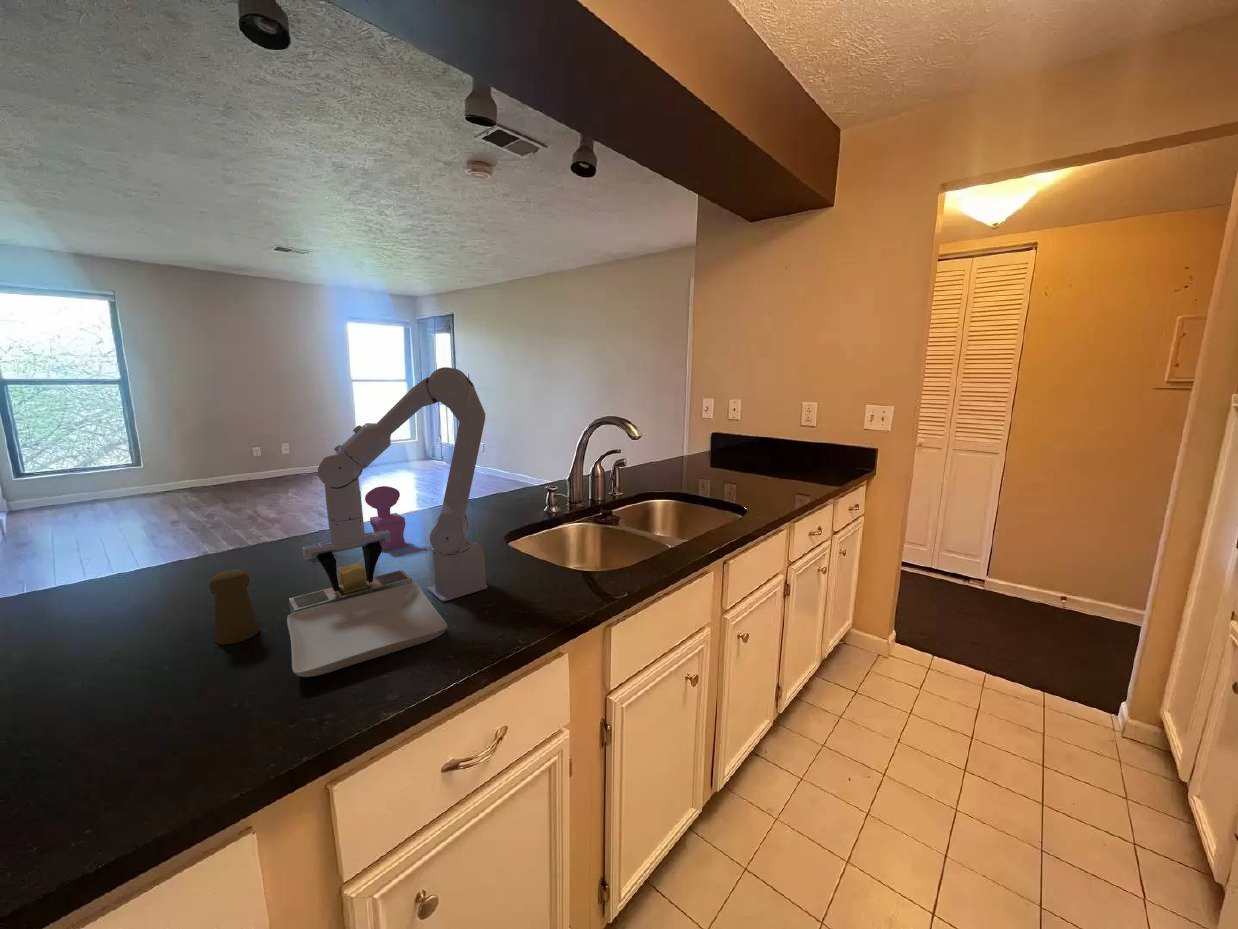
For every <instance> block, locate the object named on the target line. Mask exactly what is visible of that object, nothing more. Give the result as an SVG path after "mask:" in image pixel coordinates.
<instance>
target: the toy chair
mask: <svg viewBox="0 0 1238 929" xmlns="http://www.w3.org/2000/svg"><path fill="white" fill-rule="evenodd" d="M400 493H401V492H400V491H399V490H398V489H397V488H394V487H392V486H389V485H388V486H387V485H382V486H377V487H374V488H372V489H371V490H369V491H368V492H367V493H366V494H365V496H364V502H365V503H366V504H367V505H368V506H369V507H371V508H372V509H375V510H376V513H377V516H372V517H371V516H370V517H369V524H370V526H371V527H372V529H373V532H379V531H385V530H387V531H389V532H390V537H391V542H386V543H385V542H382V545H381V546H382V552H381V553H384V552H387V550H388V551H392V550H396V549H397V550H398V549H401V547H402V548H406V547H408V545H407V543H406V541H405V536H404V533H405V529H406V518H405V517H404V516H401V515H400V514H399V513H396V512H395V513H394V512H392V513H391V508H392V507H393V506H396V504H397V503H398V502H399V499H400V496H401V494H400ZM405 546H406V547H405Z"/></svg>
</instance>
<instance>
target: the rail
mask: <svg viewBox="0 0 1238 929" xmlns="http://www.w3.org/2000/svg"><path fill="white" fill-rule="evenodd" d="M412 583H413V578H412V577H411V576H410V575H409V574H408V573H407V572H405V571H404V570H403V569H400V570H396V571H392V572H388V573H383V574H379V575H376V576H373V582H370V583H369V582H368V581H367V588H368V589H367V590H363V591H359V592H356V593H352V594H348V595H345V596H342V595H341V594H340V592H339V591H336V592H335V591H334V590H333V589H332V587H329V588H324V589H321V590H317V591H313V592H309V593H305V594H301V595H297V596H294V597H290V598H288V603H289V610H290V614H291V613H295V612H298V611H303V610H306V609H310V608H314V607H318V606H322V605H326V604H330V603H334V602H338V601H342V600H346V599H350V598H354V597H358V596H362V595H366V594H370V593H374V592H378V591H383V590H387V589H391V588H395V587H399V586H404V585H408V584H412Z"/></svg>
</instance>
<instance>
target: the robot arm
mask: <svg viewBox="0 0 1238 929" xmlns="http://www.w3.org/2000/svg"><path fill="white" fill-rule="evenodd" d="M437 403H441V404H443V405H444V406H445V407H447V408H448V409H449V411H450V412H451V413H452V414H453V416H454V417H455V418H456V419H457V421H458V427H457V432H456V437H455V443H454V447H453V452H452V458H451V461H450V462H451V464H450V467H449V471H448V476H447V482H446V487H445V490H444V491H445V492H444V497H443V502H442V506H441V509H440V513H439V516H437V519H436V521H435V525H434V527H433V528H432V529H431V531H430V535H429V543H430V545H431V556H432V559H431V560H432V569H433V570H432V571H433V573H432V574H433V584H432V585H430V586H429V585H428V586H427V587H426V589H427V591H429V592H430V593H431V594H432V595H433V596H435V597H436V599H438V600H439V601H440V602H443V603H444V602H448V601H450V600H454V599H456V598H461V597H463V596H466V595H469V594H473V593H476V592H480V591H483V590H486V589H487V588H488V585H487V581H486V567H485V555H484V552H483V549H482V547H481V545H480V544H479V543H477V542H470V541H469V540H468V538H466V533H467V531H468V529H469V520H468V518H467V510H468V505H469V499H470V495H471V490H472V484H473V480H474V475H475V470H476V466H477V465H476V464H477V460H478V455H479V451H480V446H481V441H482V436H483V433H484V427H485V422H486V412H485V409H484V407H483V405H482V404H483V403H481V401H480V398H479V395H478V393H477V391H476V388H475V385H474V382H472V381H471V380H470V379H469V377H468V376H467V375H466V374H465V373H464V372H463V371H462V370H460V369H458V368H454V367H447V366H444V367H439V368H438V369H435V370H434V371H433V372H431V374H430V376H427V377H425V378H424V379H421V381H419V382H418V383H417V384H416V385H414V386H413V387H411V388H410V389H409V390H408V392H406V393H405V394H404V396H403V397H401V398H400V399H399V400H398V402H396V404H394V405H393V407H391V409H390V410H388V412H386V413H385V415H384V416H382V417H381V419H379V421H378V422H376V423H375V422H366V423H364V424H363V425H360V424H359V425H356V427H354V428H353V429H352V432H353V434H352V435H351V436H350V437H349V438H348V439H347V440H346V441H345V442H343V444H342V445H341V444H338V445H336V446H335V447H334V448H333V449H334V451H335V453H334V454H331V455H328V456H325V457H323V459H322V461H321V462H320V464H318V467H317V476H318V478H319V480H320V481H321V482H322V484H324V490H325V491H324V492H325V504H326V513H327V521H328V531H329V539H327V540H323V541H321V542H317V543H316V542H315V543H313V544H310V545H309V544H308V545H305V546H302V547H301V549H302V557H303V558H304V559H305V560H307V561H308V560H311V559H313V558H316V559H317V561H318V562H319V563H320V565H321V566H322V568H323V569H324V571H325V573H326V574H327V575H326V576H328V579H329V581H330V584H331V588H332V589H333V590H334V591H335V592H336V591H339V583H338V574H337V559H336V558H335V555H334V554H335V553H338V552H343V551H348V550H351V549H352V550H353V549H357V548H361V550H362V554H363V559H364V567H365V568H366V577H367V581H368V582H369V583H370V582H373V577H374V574H375V570H376V566H377V563H378V559H379V558H380V557H381V556H380V555H381V554H382V553H383V552H382V546H383V545H381V544H382V543H384V542H385V543H386V542H391V537H390V532H389V531H387V530H385V531H379V532H374V531H371V532H365V523H364V513H363V503H362V494H361V493H362V492H361V490H360V479H359V478H360V476H361V475H362V473H363V471H364V470H365V469H367V468H368V467H369V466H370V465H371V464H372V463H373V462H374V461H375V460H376V459H377V458H379V457H380V456H381V455H382V454H383V453H384V452H385V451H386V450H387V449H389V448H390V446H391V444H392V443H391V442H392V441H391V440H392V439H391V438H392V435H393V433H394V432H396V431H397V430H398V429H399V428H400V427H401V426H402V425H404V424H405V423H406V422H407V421H408V420H410V419H411V417H413V416H414V415H415V414H416V413H417V412H419V411H420V410H421V409H422V408H424V407H428V406H431V405H434V404H437ZM333 553H334V554H333Z"/></svg>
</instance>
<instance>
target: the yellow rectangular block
mask: <svg viewBox="0 0 1238 929" xmlns="http://www.w3.org/2000/svg"><path fill="white" fill-rule="evenodd" d="M336 570H337V579H338V584H339V592H340V594H341V595H342V596H345V595H348V594H352V593H356V592H359V591H363V590H367V589H368V588H367V577H366V568H365V565H363V564H362V563H361V562H356V563H352V564H347V565H343V566H339V567H336Z"/></svg>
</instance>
